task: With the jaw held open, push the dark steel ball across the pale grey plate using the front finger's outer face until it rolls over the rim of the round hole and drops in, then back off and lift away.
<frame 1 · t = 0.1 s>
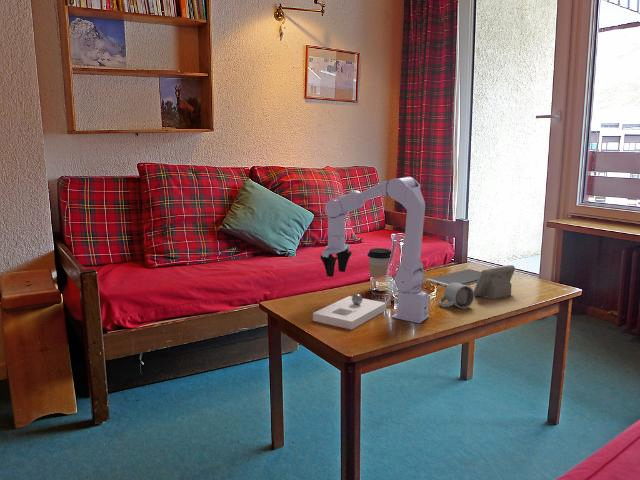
hand: (336, 273, 185), 10 cm above the table, fingers open, 7 cm apart
ceramic mug: (454, 306, 183), on the table
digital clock: (493, 295, 196), on the table
grey flat slab: (461, 281, 216), on the table
hole plate: (350, 315, 173), on the table
coffee cup: (379, 290, 201), on the table
steel ball: (357, 299, 175), point 4 cm above the table, touching hole plate
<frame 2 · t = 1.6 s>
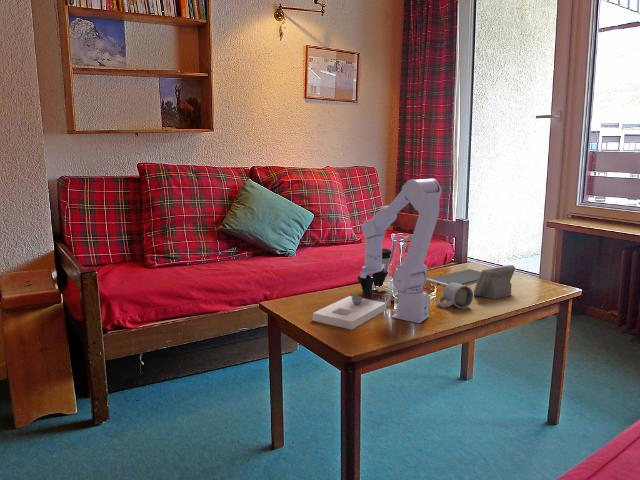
hand: (372, 294, 184), 3 cm above the table, fingers open, 7 cm apart
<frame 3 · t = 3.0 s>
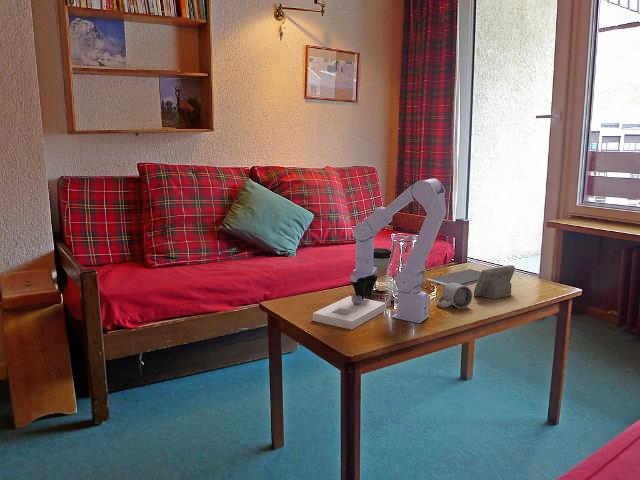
hand: (363, 298, 179), 3 cm above the table, fingers open, 4 cm apart
steel ball: (356, 299, 175), point 4 cm above the table, tilted 5°, touching gripper, hole plate
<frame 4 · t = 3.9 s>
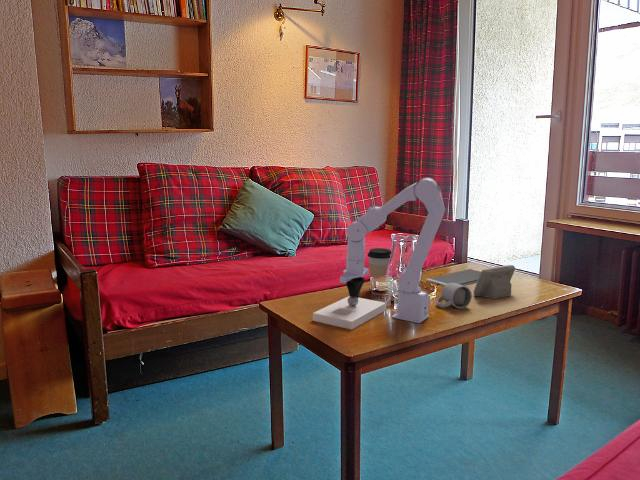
hand: (353, 299, 175), 4 cm above the table, fingers closed, pressing on steel ball
steel ball: (352, 300, 174), point 4 cm above the table, tilted 69°, touching gripper, hole plate
everything else where it was.
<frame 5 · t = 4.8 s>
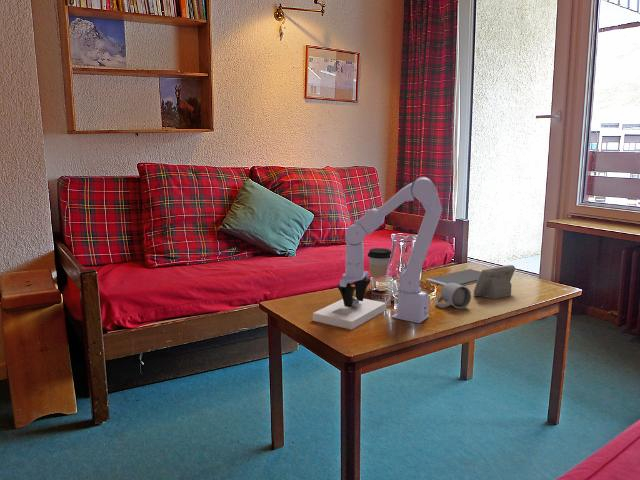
hand: (353, 303, 174), 3 cm above the table, fingers open, 7 cm apart
steel ball: (353, 302, 172), point 4 cm above the table, tilted 128°, touching hole plate
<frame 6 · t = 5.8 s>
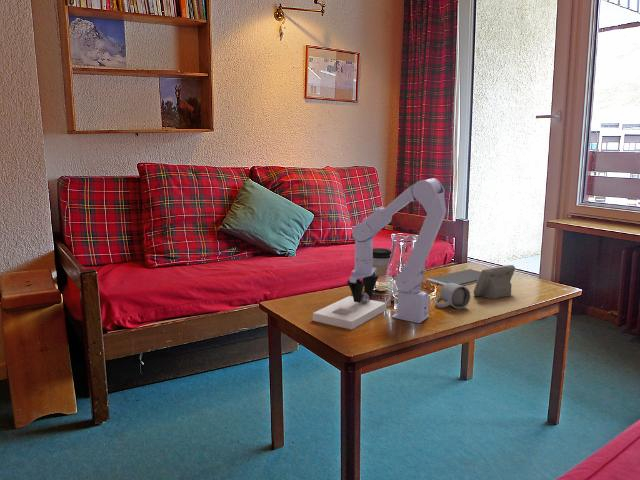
hand: (362, 299, 178), 3 cm above the table, fingers open, 7 cm apart
steel ball: (363, 297, 177), point 4 cm above the table, tilted 36°, touching hole plate
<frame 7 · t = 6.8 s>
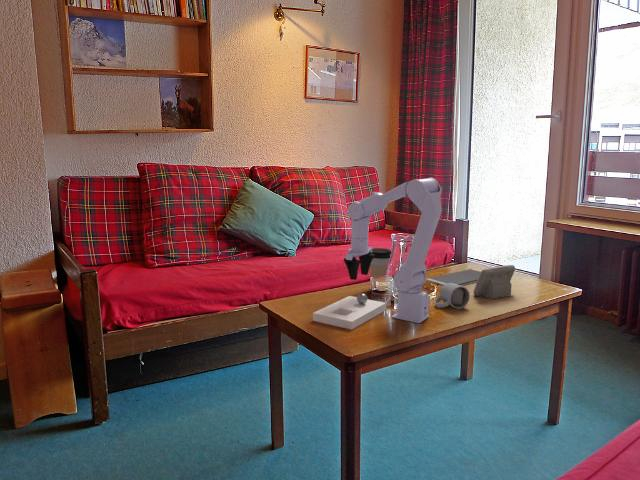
hand: (358, 276, 183), 9 cm above the table, fingers open, 7 cm apart
steel ball: (362, 298, 176), point 4 cm above the table, tilted 64°, touching hole plate
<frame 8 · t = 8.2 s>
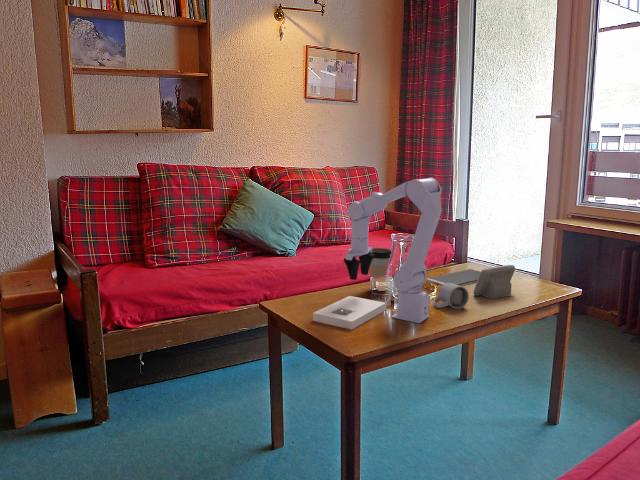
hand: (358, 276, 183), 9 cm above the table, fingers open, 7 cm apart
steel ball: (340, 314, 168), point 2 cm above the table, tilted 135°
at the end: steel ball 1.0 cm from the target spot on the hole plate, point 1.7 cm above the hole plate's base; steel ball touching table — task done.
